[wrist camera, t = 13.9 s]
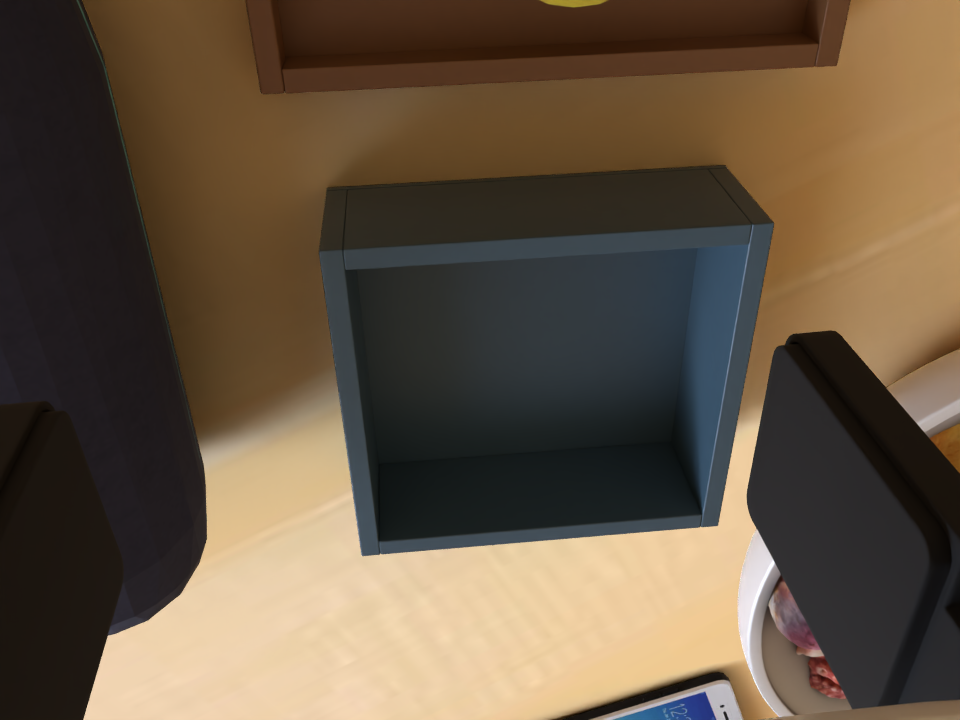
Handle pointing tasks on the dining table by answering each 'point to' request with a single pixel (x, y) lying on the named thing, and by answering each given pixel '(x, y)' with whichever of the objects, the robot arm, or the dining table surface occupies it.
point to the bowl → (771, 607)
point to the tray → (530, 40)
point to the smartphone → (676, 703)
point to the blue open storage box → (541, 351)
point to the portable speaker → (92, 300)
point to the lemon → (573, 2)
